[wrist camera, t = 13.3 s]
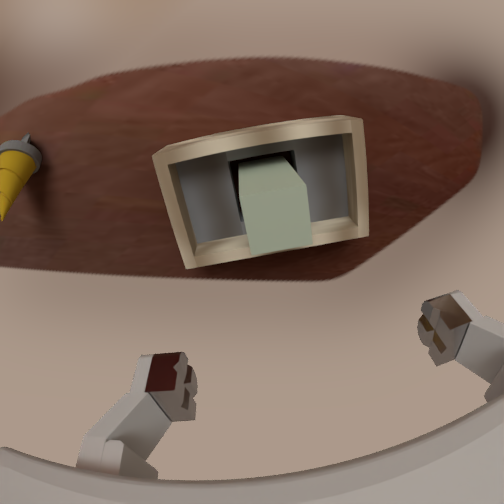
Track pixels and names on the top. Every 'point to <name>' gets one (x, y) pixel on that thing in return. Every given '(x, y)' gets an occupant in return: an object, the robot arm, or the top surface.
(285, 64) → the top surface
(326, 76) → the top surface
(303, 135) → the box
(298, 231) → the peg
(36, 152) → the drill bit
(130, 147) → the top surface
